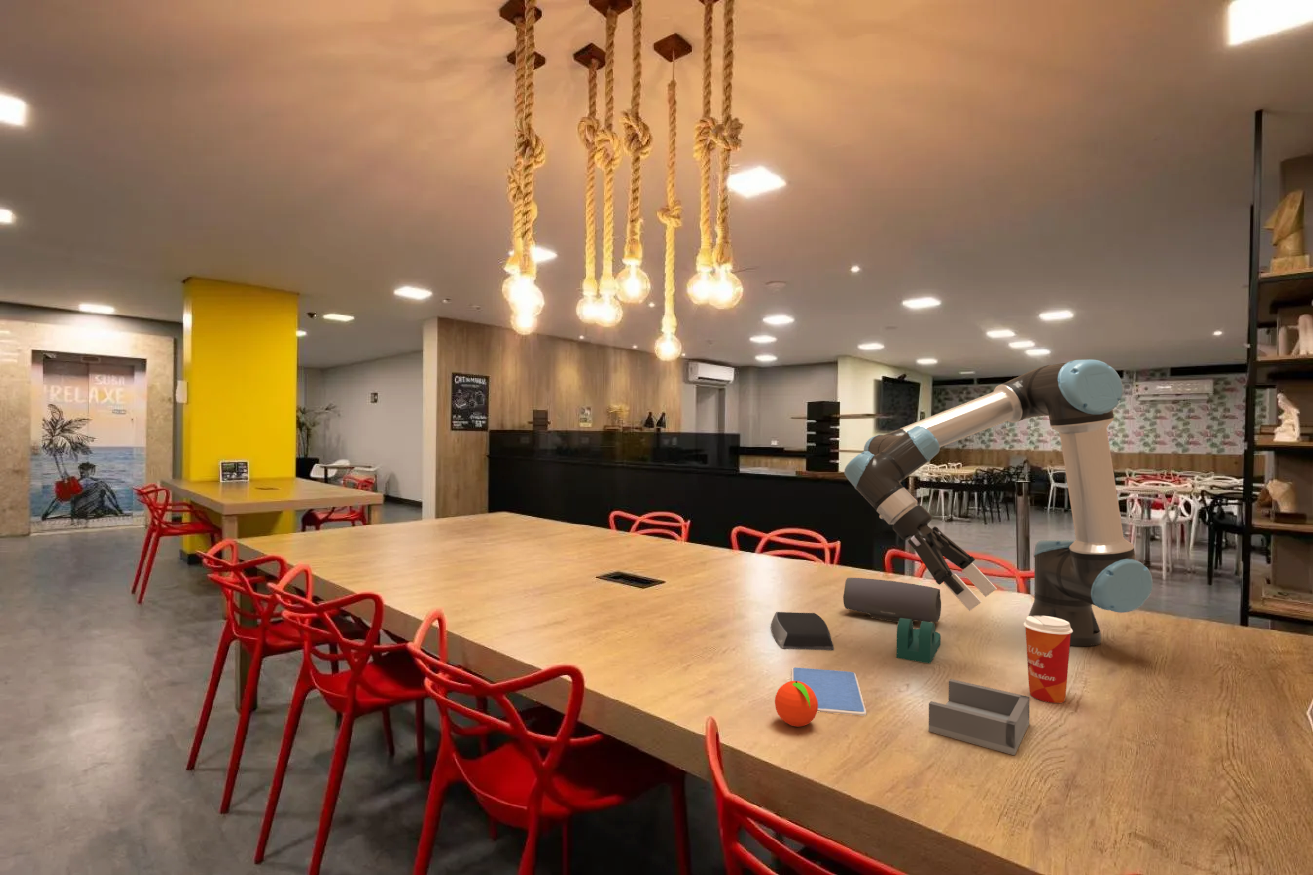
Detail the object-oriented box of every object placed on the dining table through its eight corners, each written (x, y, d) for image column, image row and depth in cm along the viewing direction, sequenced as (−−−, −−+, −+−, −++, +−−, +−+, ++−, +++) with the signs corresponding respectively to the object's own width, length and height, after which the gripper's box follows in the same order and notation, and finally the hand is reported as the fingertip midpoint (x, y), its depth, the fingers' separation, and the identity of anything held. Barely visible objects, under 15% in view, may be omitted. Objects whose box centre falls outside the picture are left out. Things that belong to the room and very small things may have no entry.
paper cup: (1013, 688, 120) (1014, 614, 120) (1052, 687, 120) (1052, 614, 120) (1042, 706, 112) (1042, 627, 112) (1083, 705, 113) (1083, 626, 113)
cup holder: (1029, 723, 105) (1029, 696, 105) (1014, 755, 95) (1014, 725, 95) (950, 704, 113) (950, 678, 113) (928, 731, 102) (928, 703, 102)
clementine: (829, 734, 101) (830, 689, 101) (790, 739, 99) (790, 694, 99) (804, 713, 109) (804, 671, 109) (767, 718, 107) (767, 675, 107)
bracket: (930, 664, 133) (930, 627, 133) (896, 658, 136) (896, 621, 136) (942, 641, 148) (942, 607, 148) (911, 636, 152) (912, 603, 152)
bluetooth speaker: (941, 622, 163) (941, 583, 163) (935, 631, 155) (935, 590, 155) (852, 608, 175) (852, 572, 175) (842, 616, 168) (842, 578, 168)
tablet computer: (867, 720, 107) (867, 712, 107) (791, 713, 110) (791, 705, 110) (855, 677, 126) (855, 671, 126) (791, 672, 129) (791, 666, 129)
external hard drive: (777, 650, 142) (777, 632, 142) (768, 625, 161) (768, 609, 161) (837, 652, 141) (837, 634, 141) (820, 626, 160) (820, 610, 160)
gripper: (910, 520, 143) (982, 598, 134) (870, 533, 124) (952, 625, 115) (935, 499, 140) (1011, 576, 131) (898, 508, 121) (984, 600, 111)
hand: (984, 599), depth 123 cm, fingers open, 13 cm apart
